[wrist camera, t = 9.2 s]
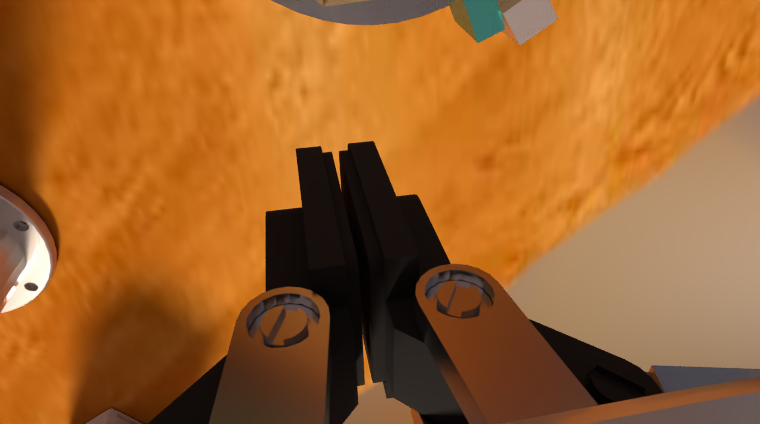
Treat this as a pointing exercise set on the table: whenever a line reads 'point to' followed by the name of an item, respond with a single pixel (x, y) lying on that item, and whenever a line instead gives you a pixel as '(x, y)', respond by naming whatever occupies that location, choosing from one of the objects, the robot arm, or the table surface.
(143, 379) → the table surface
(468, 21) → the wooden castle nut
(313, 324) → the robot arm
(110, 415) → the coffee box
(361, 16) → the hub
